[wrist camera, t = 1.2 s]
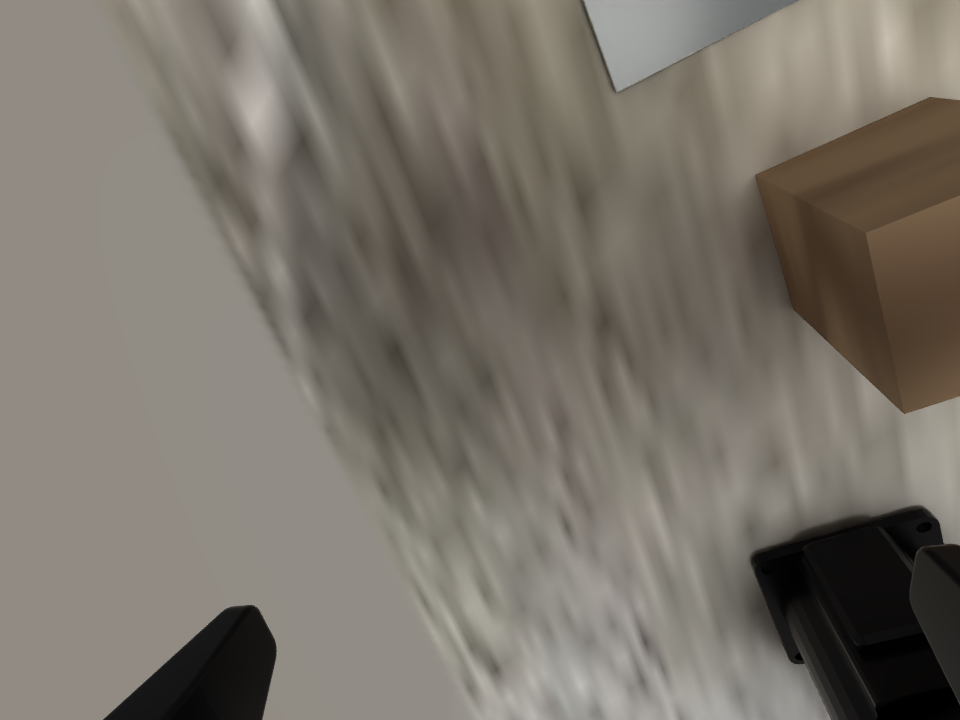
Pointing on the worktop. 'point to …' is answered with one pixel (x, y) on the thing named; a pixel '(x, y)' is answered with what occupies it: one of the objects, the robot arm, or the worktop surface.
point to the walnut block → (879, 248)
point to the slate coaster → (665, 31)
